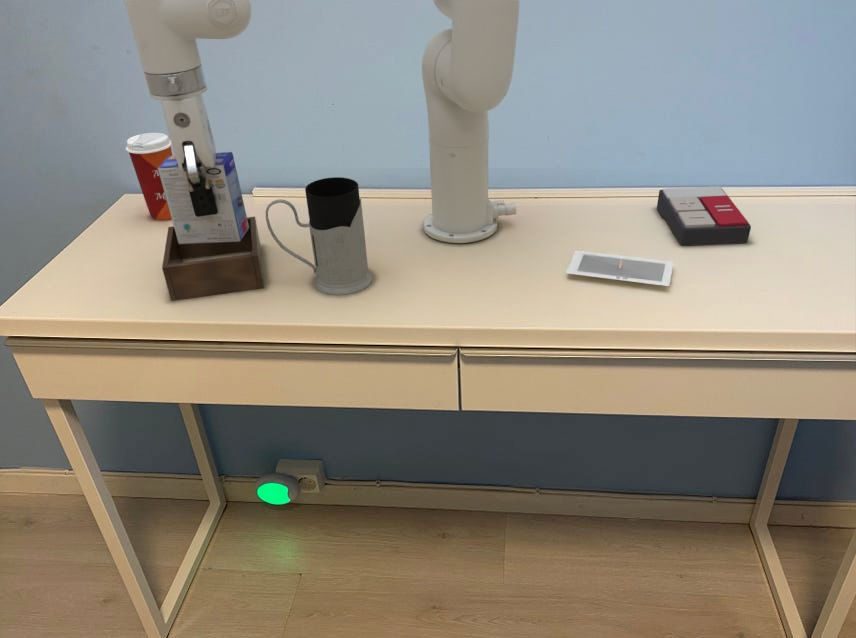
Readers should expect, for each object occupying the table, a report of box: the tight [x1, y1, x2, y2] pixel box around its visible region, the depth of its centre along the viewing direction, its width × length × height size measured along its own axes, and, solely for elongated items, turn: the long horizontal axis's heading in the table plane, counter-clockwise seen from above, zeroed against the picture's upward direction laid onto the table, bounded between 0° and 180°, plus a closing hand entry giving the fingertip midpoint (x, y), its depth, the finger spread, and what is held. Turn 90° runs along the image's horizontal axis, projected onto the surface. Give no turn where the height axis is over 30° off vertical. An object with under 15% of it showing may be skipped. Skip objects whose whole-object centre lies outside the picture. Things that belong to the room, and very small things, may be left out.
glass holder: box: [265, 176, 373, 296], centre depth 110 cm, size 9×14×15 cm, turn 99°
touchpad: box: [565, 250, 675, 287], centre depth 113 cm, size 8×15×2 cm, turn 71°
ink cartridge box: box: [158, 151, 249, 244], centre depth 110 cm, size 10×6×14 cm, turn 89°
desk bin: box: [161, 216, 265, 302], centre depth 116 cm, size 14×15×6 cm
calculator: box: [656, 186, 752, 247], centre depth 126 cm, size 11×4×15 cm
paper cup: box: [125, 132, 173, 221], centre depth 134 cm, size 8×8×14 cm
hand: (207, 204), depth 112 cm, fingers closed on ink cartridge box, 6 cm apart
